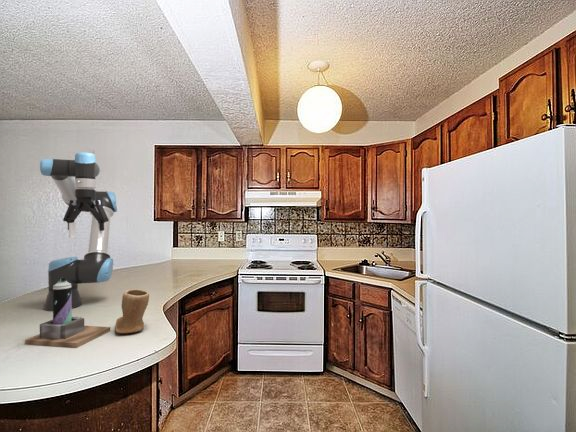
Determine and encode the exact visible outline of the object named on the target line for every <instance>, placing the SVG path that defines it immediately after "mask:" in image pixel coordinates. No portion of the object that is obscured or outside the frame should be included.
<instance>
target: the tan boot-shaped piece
mask: <svg viewBox="0 0 576 432" xmlns="http://www.w3.org/2000/svg"><path fill="white" fill-rule="evenodd" d="M149 301H150V293H149V292H148V291H146V290H143V289H137V288H133V289H132V288H131V289H127V290H125V291H124V292H123V295H122V298H121V311H122V312H121V313H122V316H120V317H119V318H116V321H115V327H114V330H115V332H116V333H118V334H132V333H136V332H141V331H142V330H143V329H144V327H145V322H144V320H143V317H144V314H145V311H146V310H147V307H148V305H149Z"/></svg>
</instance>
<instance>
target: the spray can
mask: <svg viewBox="0 0 576 432" xmlns="http://www.w3.org/2000/svg"><path fill="white" fill-rule="evenodd" d="M72 310H73V308H72V290H71V283H68V282H67V281H66V280H65V278H60V279H59V281H58V283H56V284H55V285H53V311H52V320H53V324H60V325H63V324H66V323H69V322H71V321H72V317H73V316H72Z"/></svg>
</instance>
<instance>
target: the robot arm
mask: <svg viewBox="0 0 576 432" xmlns="http://www.w3.org/2000/svg"><path fill="white" fill-rule="evenodd" d="M96 161H97V160H96V155H95V154H94V153H90V152H84V151H83V152H81V151H80V152H76V153H75V155H74V159H60V158H58V159H57V158H42V159H41V160H40V164H39V169H40V173H41V175H42V176H45V177H51V179H52V180H53V182H54V183H55V185H56V187H57V188H58V190H59V192H60V193H61V199H62V200H63V202H64V203H65V204H66V205H67V206H68V207H67V209H66V212H65V214H64V217H63V218H62V221H63V222H66V223H67V231H68V239H72V238H76V222H75V221H76V219H77V218H78V216H80V214H81V213H82V212H83V213H89V214H90V215H91V216H92V217H91V225H90V233H89V243H88V251H87V253H85V254H84V256H83V259H79V258H78V256H70V257H63V258H58V259H54V260H51V261H49V263H48V270H47V273H48V274H47V275H48V278H47V279H48V292H47V295H46V299H45V302H44V303H43V310H44V311H48V312H49V311H50V312H53V285H55V284H56V283H58V281H59V279H60V278H65V280H66V281H67V282H68V283H71V290H72V309H75V308H79V307H80V306H82V305H83V299H82V298H81V294H80V292H79V289H78V287H79V286H78V285H79V284H96V283H97V284H100V283H105V282H108V281H109V280H110V279H111V277H112V275H113V270H114V259H113V258H112V257H111V254H109V253H108V252H109V251H108V249H109V237H110V225H111V217H113V216H114V214H115V213H117V212H118V208H117V206H118V205H117V198H116V194H115V192H114V191H108V190H104V191H102V190H101V191H99V190H95V189H96V188H97V187H96V177H98V176H99V174H101V173H100V172H101V170H100V169H101V167H100V166H99V164H98V163H97V162H96Z"/></svg>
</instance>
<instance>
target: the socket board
mask: <svg viewBox="0 0 576 432" xmlns="http://www.w3.org/2000/svg"><path fill="white" fill-rule="evenodd" d="M110 332H111V327H110V326H97V325H85V317H82V316H72V321H71V322H69V323H66V324H63V325H60V324H53V319H50V320H47V321H45V322H43V323H40V324H39V333H38V334H35V335H33V336H31V337H29V338H26V339H24V345H31V346H48V347H59V348H60V347H61V348H73V349H74V348H76V349H78V348H79V347H81V346H83V345H85V344H87V343H89V342H91V341H93V340H96V339H98V338H99V337H101V336H104V335H106V334H107V333H110Z"/></svg>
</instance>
